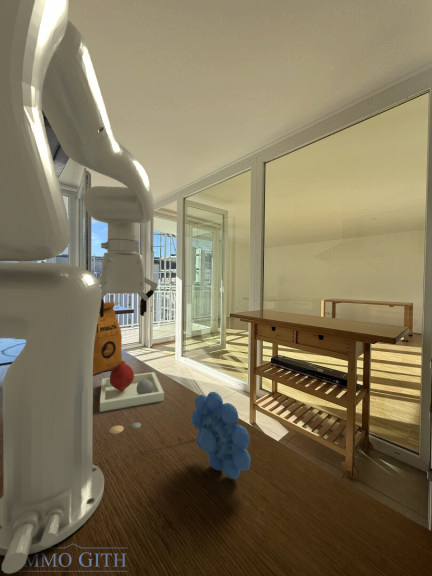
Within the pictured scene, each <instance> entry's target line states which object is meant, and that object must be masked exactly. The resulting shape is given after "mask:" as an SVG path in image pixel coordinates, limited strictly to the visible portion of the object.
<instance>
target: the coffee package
mask: <svg viewBox="0 0 432 576" xmlns="http://www.w3.org/2000/svg"><path fill="white" fill-rule="evenodd" d="M115 306H116V304H115V301H107V302H106V301H105V302H104V316H103V317H100V314H99V317H98V322H97V328H96V334H95V341H94V353H93V376H94V375H97V374H100V373H103V372H108V371H112V370H113V369H114V367H115V366H117V365H118V364H119V363H120V362H121V361H122V360H123V359H122V356H123V355H122V346H123V345H122V342H123V341H122V338H123V337H122V329H121V327H120V322H119V320H118V319H117V315H116V311H115V309H114V308H115Z"/></svg>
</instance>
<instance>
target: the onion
mask: <svg viewBox="0 0 432 576" xmlns="http://www.w3.org/2000/svg"><path fill="white" fill-rule="evenodd" d="M110 371H111V372H110V373H109V374H110V375H109V378H110V384H111V385H112V386H113V387H114V388H115V389H117V390H120V391H124V390H125V389H126V388H127V387H128V386H129V385H130V384H131V383H132V381H133V379H134V375H135V373H134V371H133V369H132V367H131V366H130V365H128V364H127V363H126V360H124V359H122V361H121V362H120V363H119V364H118V365H117V366H115V367H114V369H112V370H110Z"/></svg>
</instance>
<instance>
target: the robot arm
mask: <svg viewBox="0 0 432 576" xmlns="http://www.w3.org/2000/svg"><path fill="white" fill-rule="evenodd" d="M69 3H70V2H69V0H0V339H13V340H14V339H15V340H25V344H24V347H23V348H22V350H21V351H20V352H19V353H18V355H17V356H16V357H15V358H14V360H13V361H12V363H11V364H10V365H9V367H8V368H7V370H6V373H5V375H4V379H3V383H2V400H3V401H2V405H3V407H2V418H3V419H2V420H3V422H2V427H3V431H2V433H3V434H2V435H3V436H2V437H3V438H2V439H3V441H2V442H3V454H2V455H3V495H2V497H0V556H4V557H3V560H2V563H1V571H2V572H3V573H4V574H8V575H10V574H13V573H17V572H18V571H19V570H21V569H22V568H23V567H24V565H26V563H27V559H28V557H29V556H28V555H31V554H36V553H39V552H41V551H43V550H46V549H49V548H51V547H53V546H54V545H57V544H59V543H60V542H62V541H64V540H65V539H67V538H68V537H70V536H71V535H72V534H74V533H75V532H77V530H78V529H80V528H81V527H82V526H83V525H84V524H85V523H86V522H87V521H88V520H89V519H90V517H91V516H93V515H94V513H95V511H96V509H97V508H98V506H99V505H100V503H101V501H102V499H103V495H104V492H105V491H104V490H105V477H104V474H103V472H102V469H100V467H99V466H98V465H96V464H94V462H93V423H94V422H93V421H94V420H93V417H94V415H93V414H94V413H93V412H94V411H93V408H94V407H93V406H94V405H93V404H94V396H93V393H94V386H93V385H94V375H93V353H94V341H95V334H96V328H97V322H98V317H99V314H100V317H103V316H104V303H105V301H104V298H105V296H106V295H107V294H125V295H127V294H130V295H131V294H134V295H135V294H137V295H139V297H140V298H141V299H140V302H139V314H140V316H141V317H144V316H145V313H147V308H148V307H147V304H148V300H149V299H150V298H151V297H152V296H153V295H154V294H155V291H156V289H157V288H158V286H159V285H158V283H156V282H154V281H153V280H150V279H149V278H146V277H145V267H144V259H143V255H141V254H140V224H147V223H149V222H150V221H151V220H152V219H153V216H154V213H155V202H154V196H153V192H152V186H151V181H150V177H149V176H148V173H147V171H146V169H145V168H144V167H143V165H142V164H141V162H139V160H138V159H137V158H136V157H135V156H134V154H133V153H131V152H130V150H129V149H127V148H126V147H125V146H124V145H122V144H121V143H120V142H119V141H117V140H116V138H115V136H114V132H113V128H112V125H111V122H110V119H109V116H108V112H107V107H106V105H105V101H104V98H103V94H102V91H101V87H100V84H99V81H98V78H97V75H96V71H95V68H94V65H93V60H92V58H91V55H90V51H89V48H88V45H87V43H86V41H85V39H84V37H83V34H82V33H81V32H80V30H79V29H78V27H76V26H75V24H74V23H73V22H71V21H70V20H69V6H70V5H69ZM43 114H44V115H45V117H46V119H47V121H48V123H49V126H50V127H51V130H52V131H53V133H54V136H55V137H56V139H57V140H58V143H59V145H60V147H61V149H62V150H63V152H64V153H65V155H66V156H67V157H68V158H69V159H70V160H72V161H73V162H75V163H77V164H79V165H81V166H83V167H84V168H87V169H89V170H91V171H94V172H96V173H98V174H101V175H102V176H106V177H109V178H110V179H113V180H115V181H117V182H119V183H121V184H123V185H124V186H107V185H106V186H103V185H96V186H92V187H89V188H88V189H87V190H86V191H85V193H84V196H83V205H84V209H85V210H86V212H87V214H88V215H89V216H90V217H91V218H92V219H94V220H95V221H97V222H100V223H105V224H107V241H106V242H101V243H100V248H101V249H104V250H106V252H104V254H103V257H102V261H101V273H100V276H97V277H96V276H95V274H93V273H92V272H91V271H89V270H87V268H83V267H80V266H77V265H73V264H69V263H68V264H67V263H58V262H40V261H46V260H49V259H53V258H56V257H58V256H59V255H62V254H64V253H63V252H64V251H66V249H67V248H68V246H69V243H70V237H71V230H70V222H69V217H68V213H67V209H66V204H65V200H64V197H63V193H62V189H61V186H60V181H59V177H58V174H57V170H56V166H55V162H54V159H53V156H52V151H51V148H50V144H49V139H48V135H47V131H46V127H45V121H44V115H43ZM38 261H39V262H38ZM145 284H146V285H148V286H150V288H149V290H148V291H146V293H145V292H144V291H145Z"/></svg>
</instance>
